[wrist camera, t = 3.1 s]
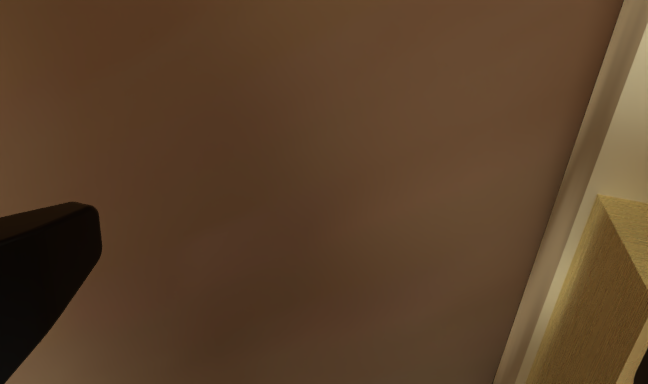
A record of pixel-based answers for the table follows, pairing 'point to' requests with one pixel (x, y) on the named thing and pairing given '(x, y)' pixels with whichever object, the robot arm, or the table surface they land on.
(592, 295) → the tan rectangular block
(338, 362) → the table surface
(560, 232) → the plane body
